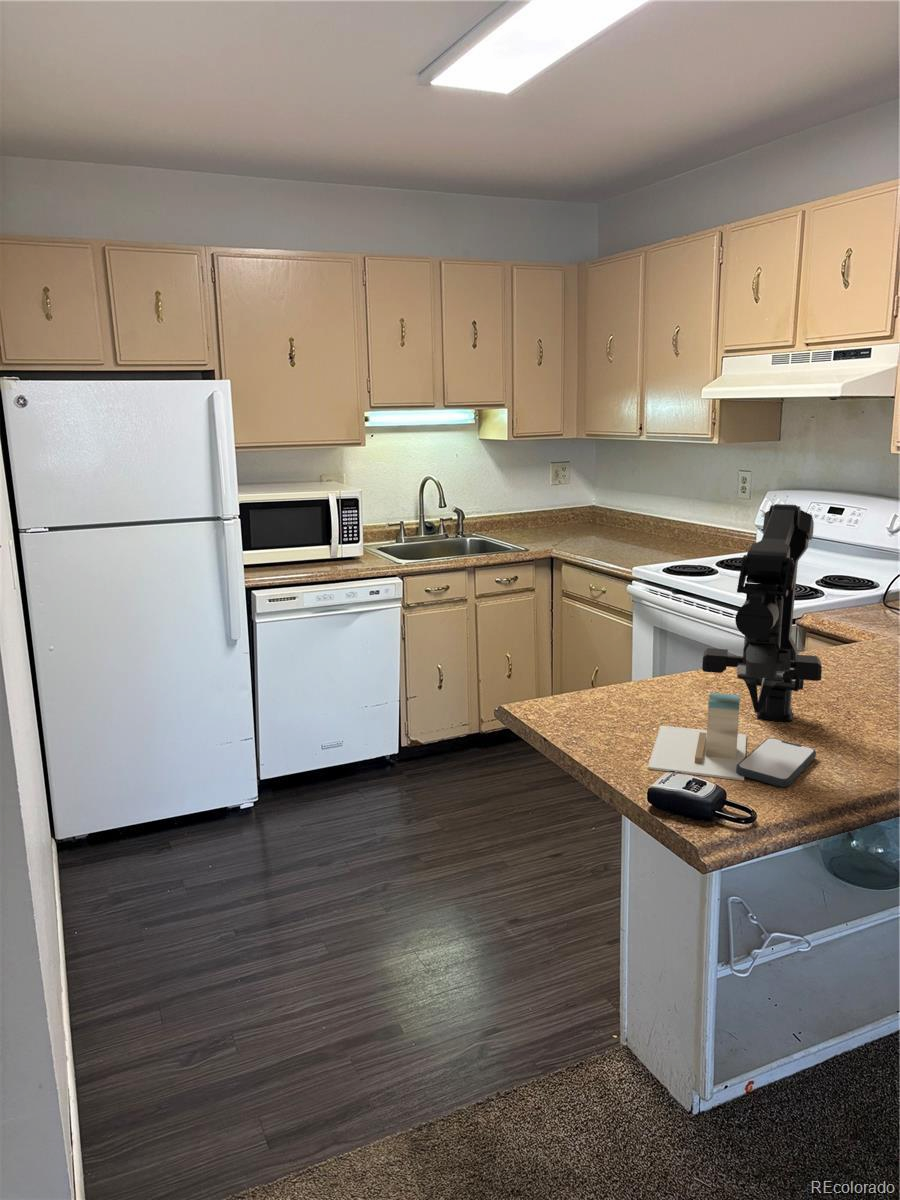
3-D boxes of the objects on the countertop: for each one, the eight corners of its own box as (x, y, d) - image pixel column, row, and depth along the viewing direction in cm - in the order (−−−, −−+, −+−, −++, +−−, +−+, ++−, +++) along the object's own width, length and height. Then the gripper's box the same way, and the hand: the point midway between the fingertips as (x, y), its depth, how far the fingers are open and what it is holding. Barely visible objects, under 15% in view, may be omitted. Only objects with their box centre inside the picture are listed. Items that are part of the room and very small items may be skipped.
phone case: (786, 790, 137) (817, 757, 149) (787, 781, 136) (818, 749, 148) (732, 775, 142) (766, 744, 154) (733, 766, 142) (767, 736, 154)
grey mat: (660, 727, 164) (660, 720, 164) (746, 736, 159) (746, 729, 158) (647, 768, 146) (647, 761, 145) (744, 780, 140) (744, 772, 140)
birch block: (707, 745, 154) (710, 692, 152) (736, 748, 152) (740, 695, 150) (705, 756, 149) (708, 701, 147) (735, 759, 148) (739, 704, 145)
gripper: (702, 631, 139) (698, 722, 143) (827, 640, 133) (819, 734, 137) (706, 615, 150) (701, 700, 153) (822, 623, 144) (815, 711, 147)
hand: (757, 711), depth 147 cm, fingers closed
